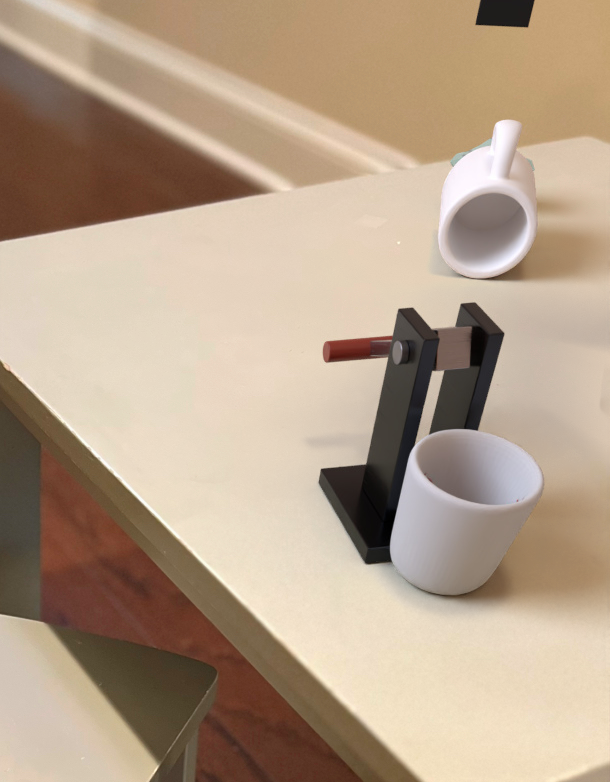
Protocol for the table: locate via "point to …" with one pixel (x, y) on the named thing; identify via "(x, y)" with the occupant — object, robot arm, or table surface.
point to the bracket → (409, 423)
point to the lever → (449, 353)
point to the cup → (461, 509)
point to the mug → (489, 207)
